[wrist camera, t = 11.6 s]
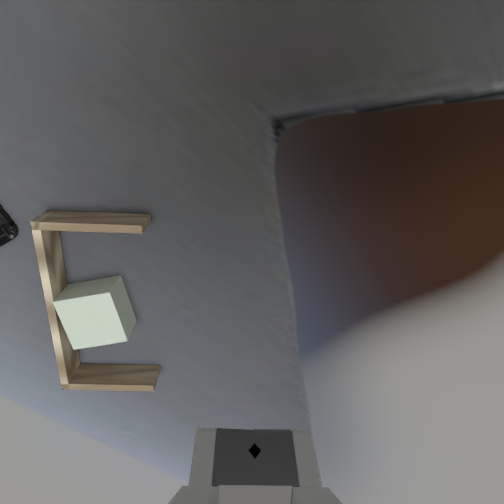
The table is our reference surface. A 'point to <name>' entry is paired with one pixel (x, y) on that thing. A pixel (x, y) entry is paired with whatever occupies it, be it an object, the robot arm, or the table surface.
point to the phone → (6, 227)
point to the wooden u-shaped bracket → (56, 281)
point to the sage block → (95, 312)
